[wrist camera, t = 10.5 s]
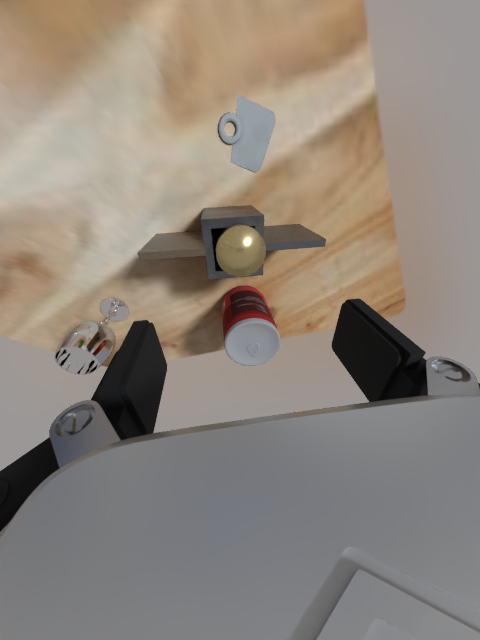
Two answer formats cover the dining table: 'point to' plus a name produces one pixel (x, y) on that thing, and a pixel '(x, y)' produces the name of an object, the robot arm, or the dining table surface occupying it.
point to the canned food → (248, 327)
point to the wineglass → (90, 340)
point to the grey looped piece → (248, 133)
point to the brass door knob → (240, 250)
